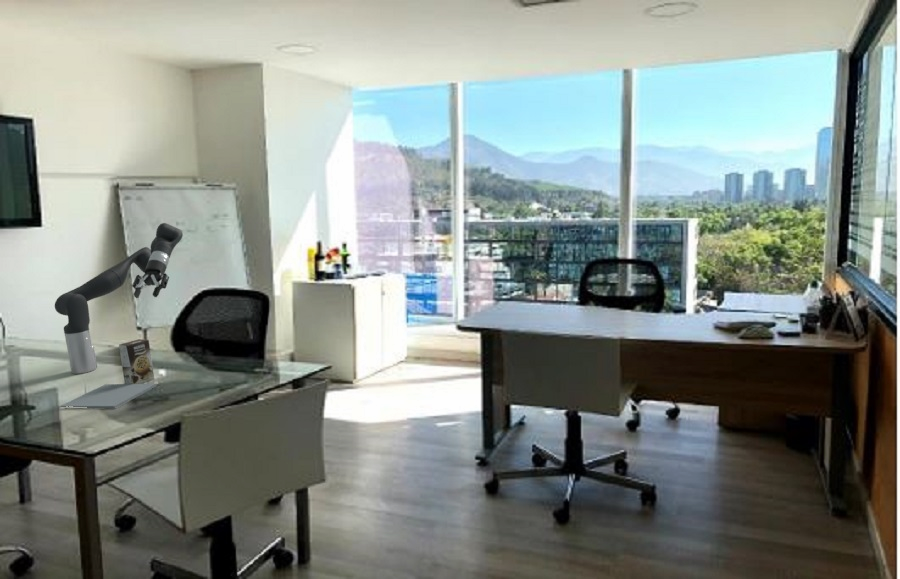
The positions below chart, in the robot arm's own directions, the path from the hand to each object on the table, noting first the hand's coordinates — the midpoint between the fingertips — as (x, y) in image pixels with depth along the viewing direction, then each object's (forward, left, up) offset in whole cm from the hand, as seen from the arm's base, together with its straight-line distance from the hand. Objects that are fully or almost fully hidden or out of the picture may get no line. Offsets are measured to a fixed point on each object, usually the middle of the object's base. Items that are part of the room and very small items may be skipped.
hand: (145, 296), depth 278 cm
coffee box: (+17, +4, -31) cm, 35 cm away
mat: (+34, +4, -31) cm, 46 cm away
